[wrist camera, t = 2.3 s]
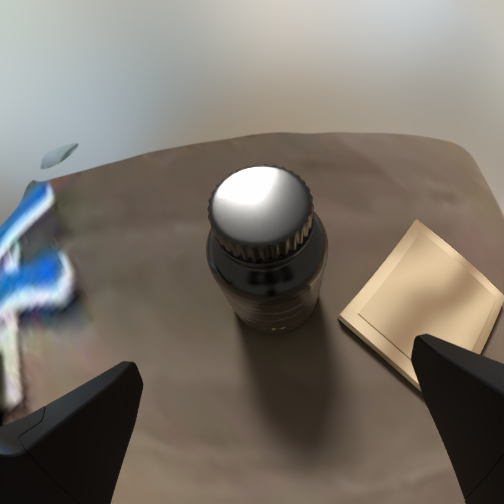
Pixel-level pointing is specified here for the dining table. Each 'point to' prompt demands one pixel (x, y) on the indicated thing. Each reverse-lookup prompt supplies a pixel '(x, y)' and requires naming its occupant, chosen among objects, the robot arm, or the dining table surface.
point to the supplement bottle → (266, 247)
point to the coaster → (423, 301)
